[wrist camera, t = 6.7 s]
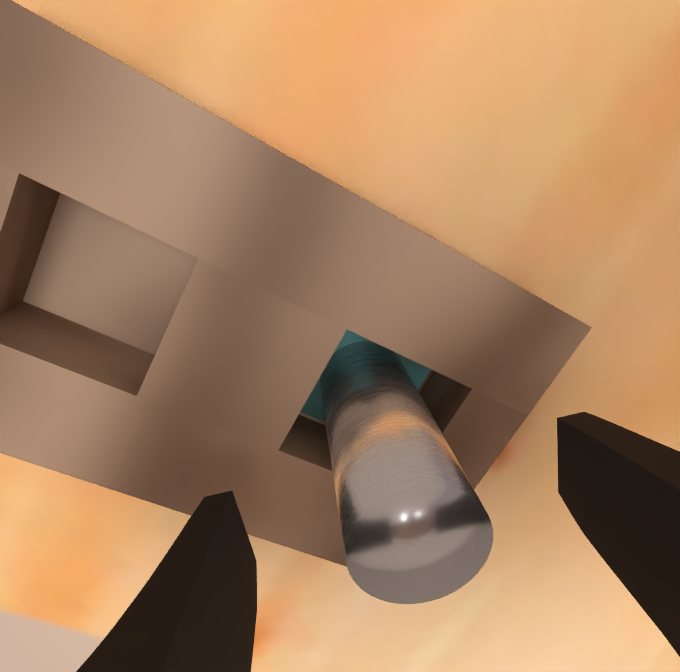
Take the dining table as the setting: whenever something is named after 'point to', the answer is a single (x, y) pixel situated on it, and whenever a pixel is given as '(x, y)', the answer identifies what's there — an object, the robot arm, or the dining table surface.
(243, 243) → the hole block
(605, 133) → the dining table surface
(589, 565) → the dining table surface
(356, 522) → the pin
